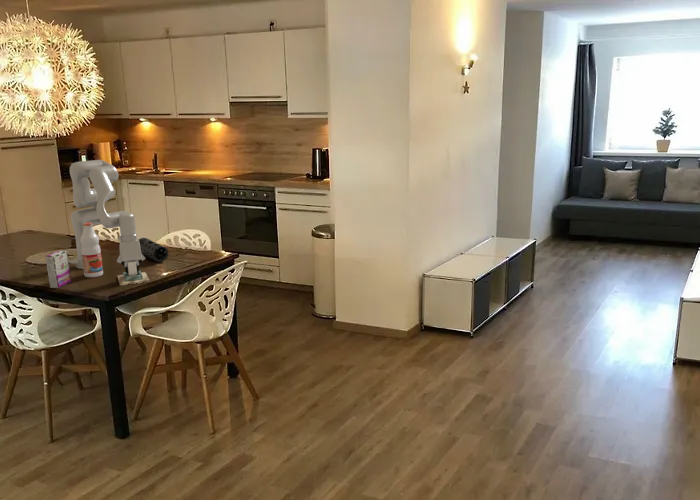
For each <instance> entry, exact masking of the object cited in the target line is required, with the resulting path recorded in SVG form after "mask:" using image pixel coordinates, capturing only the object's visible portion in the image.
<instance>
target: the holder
mask: <svg viewBox="0 0 700 500" xmlns="http://www.w3.org/2000/svg"><path fill="white" fill-rule="evenodd" d="M116 276H117V280H118V283H119V286H120V287H121V286H127V285H128V284H129V285H134V284H136V283H137V284H143V282H144V283H150V278H149V275H148V274H147V273H146V271H143V272H142V271H141V270H140V269H139V271H138V273H137V274H136V276H130V275H129V274H127V273H126V272H125V271H124V272H122V274H119V275H116ZM137 284H136V285H137ZM129 285H128V286H129Z"/></svg>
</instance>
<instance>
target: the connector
mask: <svg viewBox="0 0 700 500" xmlns="http://www.w3.org/2000/svg"><path fill="white" fill-rule="evenodd" d="M127 265H128V273H129V275H130V276H136V274H137V267H136V261H135V260H134V261H127Z"/></svg>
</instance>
